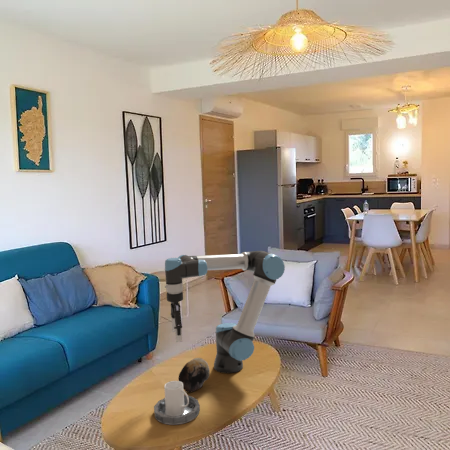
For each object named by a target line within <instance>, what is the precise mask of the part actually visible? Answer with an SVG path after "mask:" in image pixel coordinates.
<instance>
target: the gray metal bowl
mask: <svg viewBox="0 0 450 450" xmlns="http://www.w3.org/2000/svg"><path fill="white" fill-rule="evenodd" d="M188 397H189V404H188V406H187V407H185V412H184V413H183V414H182V415H179V416H168V415H166V413H165V410H166V406H165V397H164V398H161V399H160V400H158V401H157V402H156V404H155V405H154V406H153V411H154V412H153V413H154V418H155V420H156V421H158V422H159V423H161V424H164V425H169V426H177V425H178V426H179V425H184V424H187V423H189V422H191V421H193V420H195V419H196V418H197V417H198V416H199V414H200V412H201V411H200V410H201V409H200V408H201V407H200V403H199V400H198V399H197V398H195V397H193V396H192V395H188ZM187 402H188V401H187V397H186V395H185V394H184V405H186V404H187Z"/></svg>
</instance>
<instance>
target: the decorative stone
mask: <svg viewBox="0 0 450 450" xmlns="http://www.w3.org/2000/svg"><path fill="white" fill-rule="evenodd" d="M210 374H211V373H210V366H209V363H208V362H207V361H206V359H204V358H202V357H195V358H193V359H191V360H189V361H188V362H186V364H184V365H183V367H182V368H181V370H180V372H179V374H178V377H177V378H178V380H177V381H180V382H182V383H183V389H184V391H185V392H186V393H194V392H196V391H198V390H200V389H201V388H202V387H203V385H204V383H205V382H206V381H207V380H208V379H209V378H210Z"/></svg>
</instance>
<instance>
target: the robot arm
mask: <svg viewBox="0 0 450 450" xmlns="http://www.w3.org/2000/svg"><path fill="white" fill-rule="evenodd" d="M284 262H285V261H284V260H283V259H282V258H281V256H279V255H277V254H274V253H271V252H269V251H268V252H267V251H264V250H256V251H255V250H253V251H243V252H241V253H238V254H237V253H235V254H231V253H229V254H208V255H187V254H181V255H179V256H178V257H170V258H166V259H165V261H164V271H165V273H164V274H165V285H164V288H166V301H167V302H169V303H170V316H171V332H172V333H175V343H180V342H183V331H182V328H183V324H182V323H183V322H182V314H181V304H180V302H182V301H183V300H184V292H183V290H184V287H183V283H184V282H183V279H187V278H194V277H203V276H206V275H207V273H208V271H221V270H222V271H223V270H242V271H248V272H249V271H250V272H253V273H252V276H253V283H252V285H251V287H250V290H249V293H248V295H247V298H246V301H245V303H244V306H243V308H242V311H241V313H240V316H239V319H238V321H237V323H234V322H226V323H221V324H217V326H216V327H215V341H216V342H215V344H216V347H215V348H216V355H215V359H214V362H213V369H214V370H215V372H218V373H221V374H222V373H223V374H232V373H233V374H234V373H238V372H240V371H241V370H242V369H243V367H244V362H243V361H245V360H248V359H249V358H250V357H251V356H253V353H254V352H255V345H254V342H253V341H254V339H255V336H256V335H255V333H254V331H255V328H256V326H257V323H258V319H259V318H260V315H261V312H262V311H263V310H262V309H263V307H264V304H265V302H266V299H267V297H268V294H269V291H270V289H271V287H272V286H274V285H275V284H276V282H277V280H278V279H279V278H282V277H283V275H284V273H285V268H286V266H285V263H284Z"/></svg>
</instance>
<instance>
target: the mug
mask: <svg viewBox="0 0 450 450" xmlns="http://www.w3.org/2000/svg"><path fill="white" fill-rule="evenodd" d="M163 389H164V398H165V406H166V410H165V413H166V415H168V416H179V415H182V414H183V413H184V412H185V407H187V406H188V404H189V397H188V396H189V395H188V394H187V393H188V392H187V391H185V390H184V389H183V383H182V382H180V381H179V380H171V381H168V382H166V383H165V384H164V388H163ZM184 395H186V397H187V401H188V402H187V404H186V405H184Z"/></svg>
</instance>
